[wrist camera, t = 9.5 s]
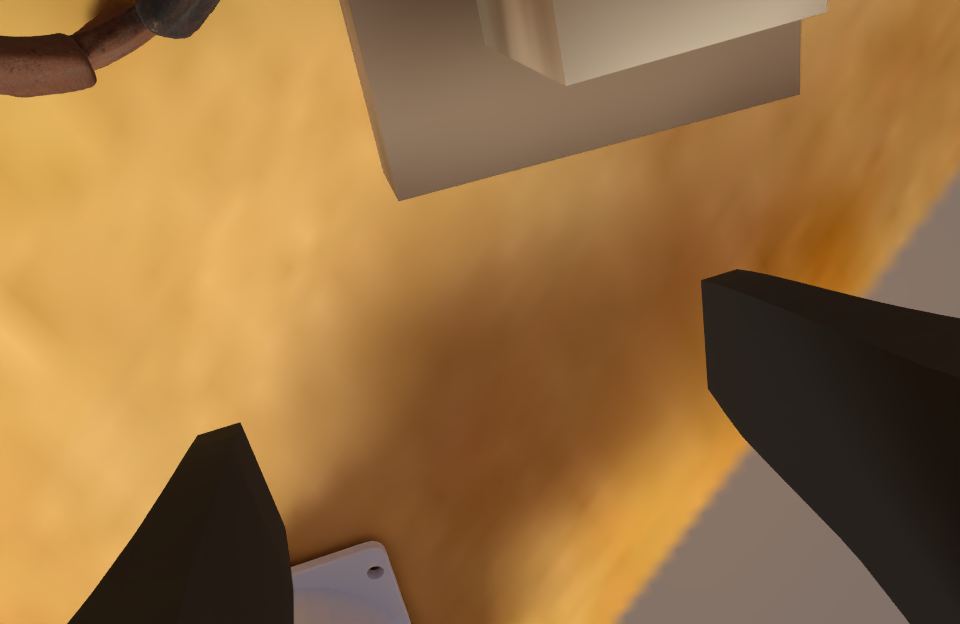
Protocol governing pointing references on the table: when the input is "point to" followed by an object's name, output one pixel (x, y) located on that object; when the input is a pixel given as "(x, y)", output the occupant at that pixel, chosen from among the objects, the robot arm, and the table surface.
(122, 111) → the table surface
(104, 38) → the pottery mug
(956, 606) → the robot arm
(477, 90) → the grey flat square block
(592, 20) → the maple cube
